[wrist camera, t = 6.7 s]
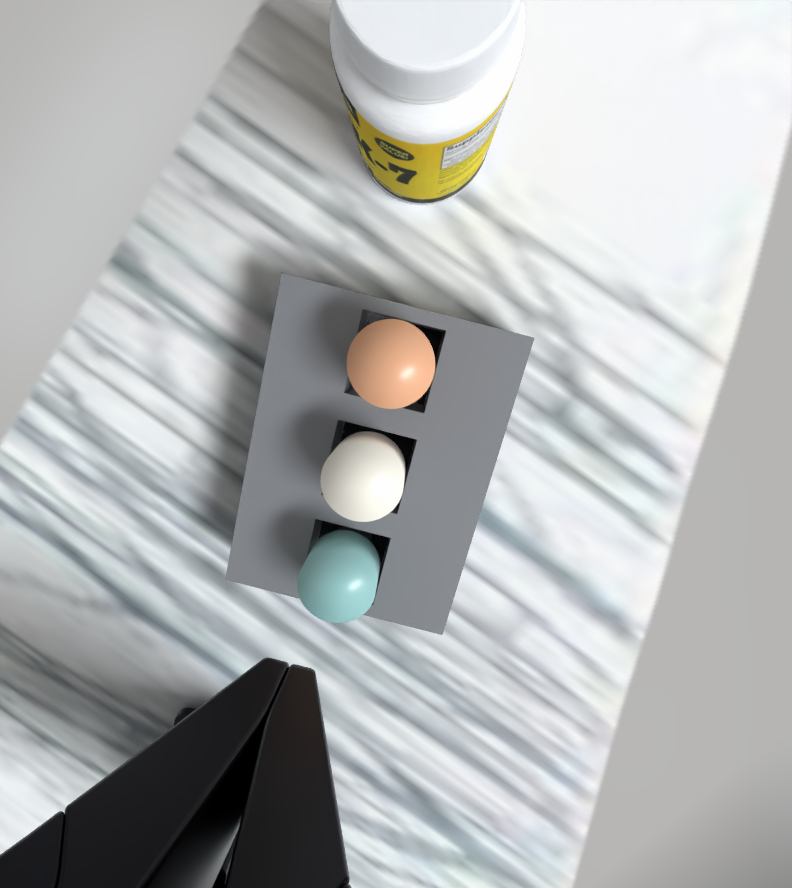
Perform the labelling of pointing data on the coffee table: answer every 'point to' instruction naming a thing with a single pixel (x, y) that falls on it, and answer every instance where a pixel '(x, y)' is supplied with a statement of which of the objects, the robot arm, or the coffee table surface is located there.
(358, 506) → the cream white egg
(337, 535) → the light blue egg
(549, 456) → the coffee table surface
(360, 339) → the peach orange egg
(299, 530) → the panel
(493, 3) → the supplement bottle
